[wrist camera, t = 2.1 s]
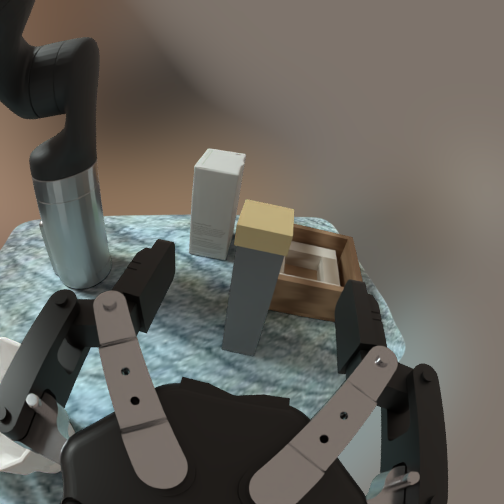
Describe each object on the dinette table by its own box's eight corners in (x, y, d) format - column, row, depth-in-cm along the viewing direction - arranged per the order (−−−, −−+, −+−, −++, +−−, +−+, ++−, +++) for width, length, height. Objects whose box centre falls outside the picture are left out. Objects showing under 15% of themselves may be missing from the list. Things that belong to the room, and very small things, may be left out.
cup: (43, 509, 12) (-21, 494, 5) (-11, 421, 17) (-67, 374, 10) (116, 451, 21) (76, 419, 14) (53, 372, 25) (12, 313, 19)
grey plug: (219, 350, 33) (236, 224, 22) (226, 322, 37) (246, 199, 26) (255, 357, 33) (292, 236, 22) (259, 329, 37) (294, 209, 26)
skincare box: (200, 227, 53) (207, 146, 43) (235, 233, 53) (248, 153, 43) (187, 255, 46) (191, 164, 36) (227, 263, 46) (240, 172, 36)
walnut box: (240, 303, 40) (246, 272, 36) (254, 245, 51) (260, 216, 47) (348, 324, 39) (365, 296, 36) (341, 264, 50) (352, 237, 47)
